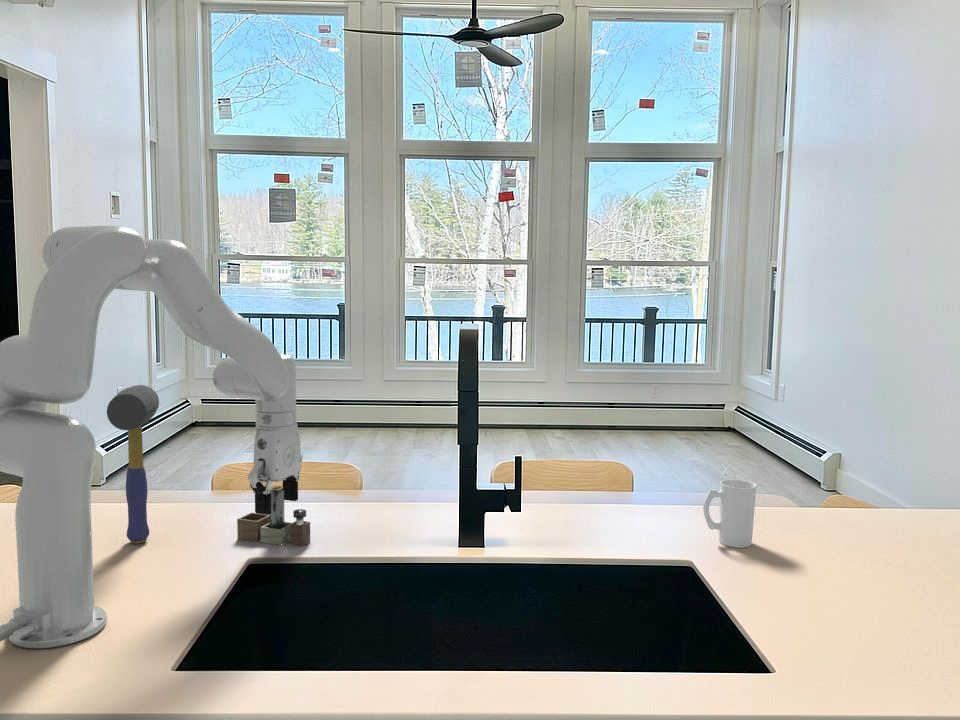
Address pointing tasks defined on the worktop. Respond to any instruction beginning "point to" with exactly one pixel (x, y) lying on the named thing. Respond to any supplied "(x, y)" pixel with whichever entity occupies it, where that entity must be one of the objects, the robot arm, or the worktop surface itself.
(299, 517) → the round dark gray knob
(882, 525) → the worktop surface
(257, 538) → the compartment holder
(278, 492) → the gray yellow-capped cylinder
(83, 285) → the robot arm
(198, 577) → the worktop surface
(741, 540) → the mug
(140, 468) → the rubber mallet
